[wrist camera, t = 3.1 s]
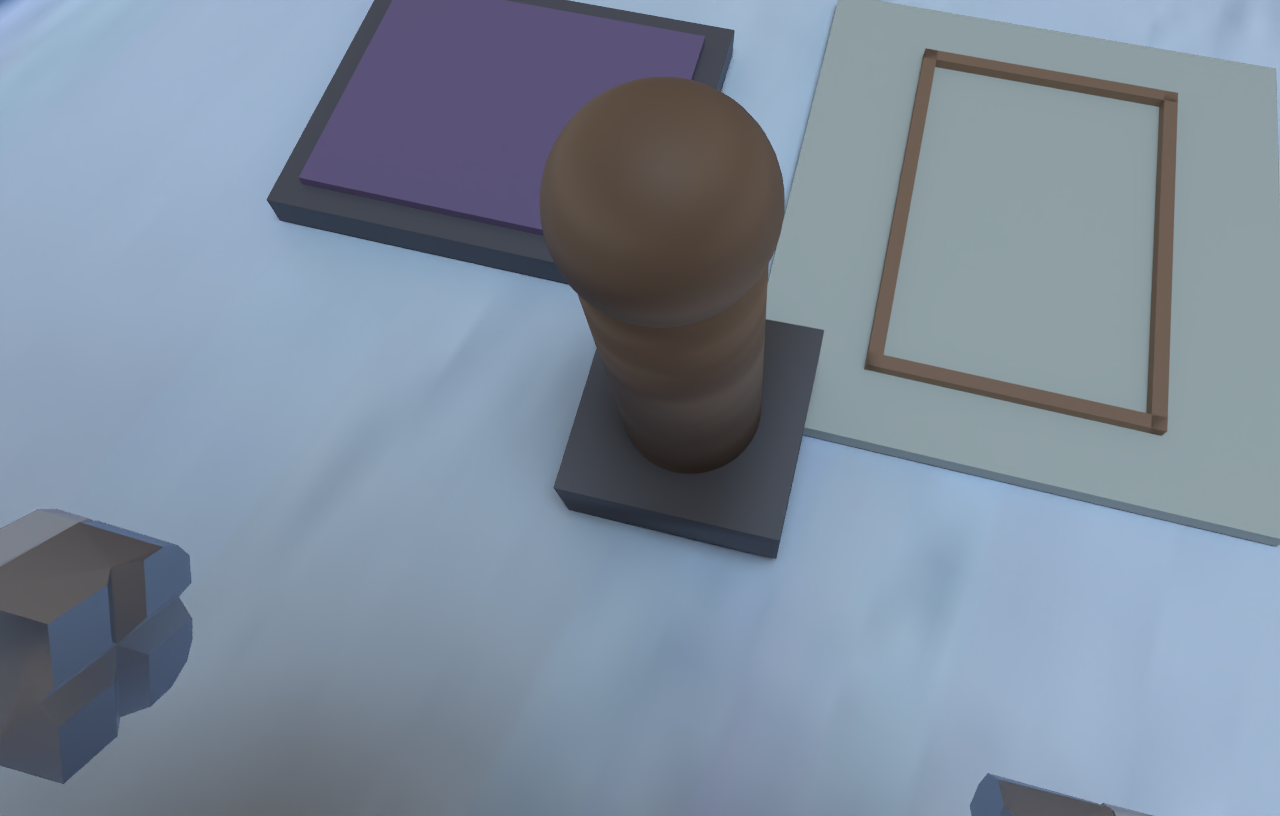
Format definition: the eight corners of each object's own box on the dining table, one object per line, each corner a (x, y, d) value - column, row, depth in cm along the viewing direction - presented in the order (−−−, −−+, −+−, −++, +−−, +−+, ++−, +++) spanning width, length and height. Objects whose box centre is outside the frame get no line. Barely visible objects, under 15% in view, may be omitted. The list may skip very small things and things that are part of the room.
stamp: (568, 509, 23) (397, 263, 12) (624, 325, 25) (522, -45, 14) (776, 558, 22) (811, 341, 11) (817, 362, 24) (887, -4, 12)
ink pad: (279, 220, 27) (262, 193, 26) (399, -7, 31) (389, -39, 30) (656, 303, 26) (656, 278, 25) (732, 54, 30) (735, 22, 29)
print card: (734, 418, 24) (736, 406, 24) (837, 6, 31) (841, -14, 30) (1275, 546, 22) (1296, 537, 22) (1266, 80, 29) (1281, 61, 28)
